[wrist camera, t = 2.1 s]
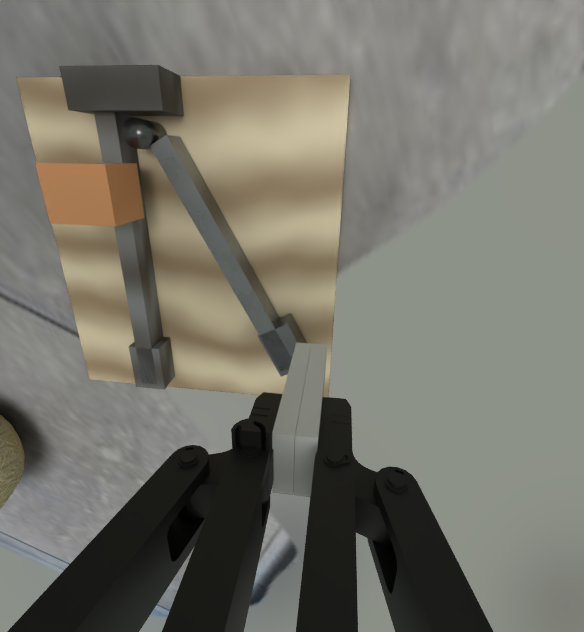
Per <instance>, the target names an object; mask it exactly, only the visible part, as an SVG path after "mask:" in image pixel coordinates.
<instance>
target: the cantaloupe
mask: <svg viewBox="0 0 584 632" xmlns="http://www.w3.org/2000/svg"><path fill="white" fill-rule="evenodd" d="M24 460H25V455H24V450H23V447H22V444H21V441H20V438H19V436H18V434H17V433H16V431H15V430H14V428H13V426H12V425H11V424H10V423H9V422H8V421H7V420H6V419H4V417H3V416H2V415H0V508H2V506H3V505H4V504H5V502H6V501H7V500H8V498H9V497H10V495H11V494H12V493H13V491H14V489H15V487H16V486H17V484H18V483H19V481H20V479H21V477H22V473H23V471H24Z"/></svg>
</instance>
